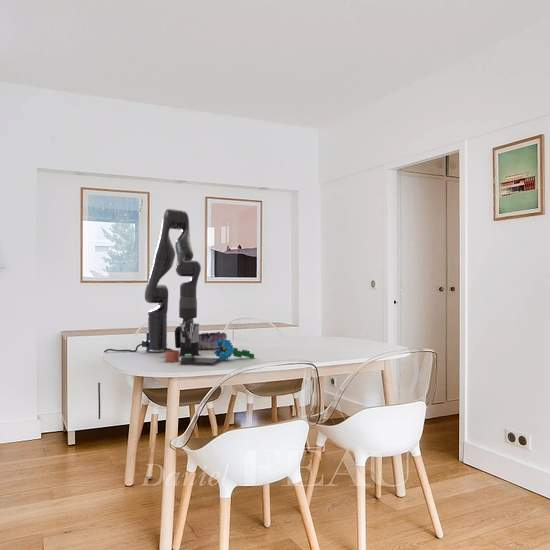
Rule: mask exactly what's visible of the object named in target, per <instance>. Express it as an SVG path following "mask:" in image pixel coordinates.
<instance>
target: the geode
mask: <svg viewBox="0 0 550 550" xmlns="http://www.w3.org/2000/svg"><path fill="white" fill-rule="evenodd" d="M227 336H228V335H227V334H226V332H220V331H217V332H203V333H199V341H198V342H199V350H212V349H213V350H218V349H219V348H220V346H217V344H216V342H219V341H220V340H221V341H223V339H225V340H227V338H228V337H227Z"/></svg>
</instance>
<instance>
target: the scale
mask: <svg viewBox="0 0 550 550" xmlns="http://www.w3.org/2000/svg"><path fill="white" fill-rule="evenodd" d="M180 358H181V359H180V365H181V366H205V367H206V366H209V367H213V366H214V365H216V364H218V363H220V362H221V360H220V358H219V357H196V356H191V358H185V356H183V355H182V356H181V357H180Z"/></svg>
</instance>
